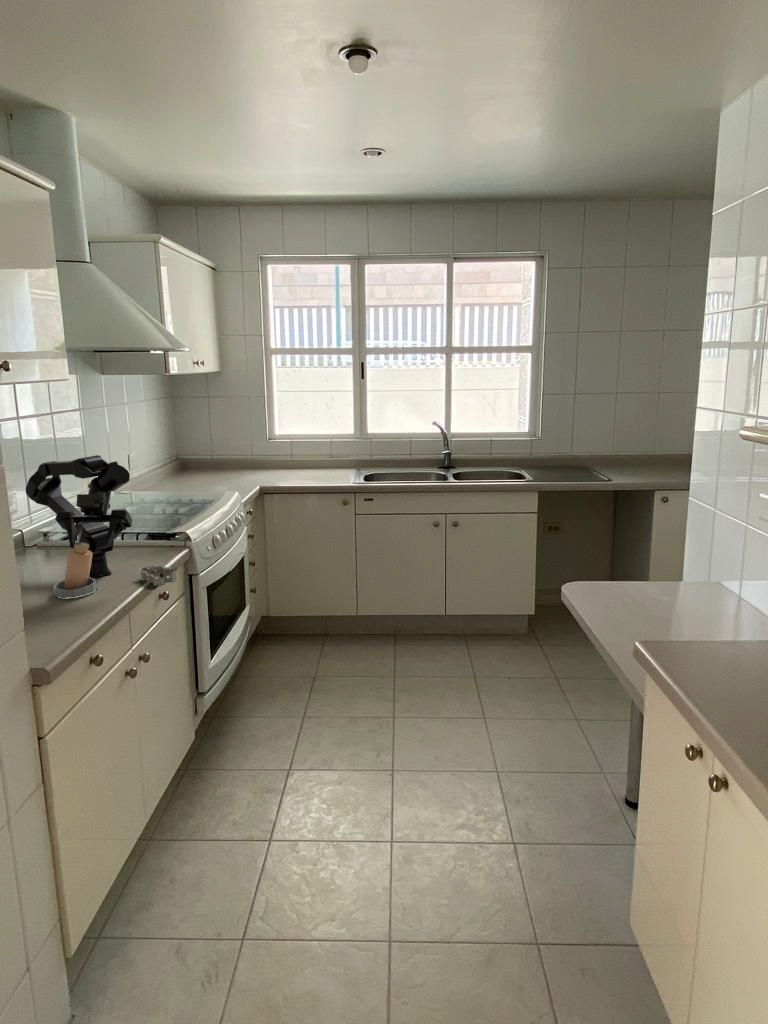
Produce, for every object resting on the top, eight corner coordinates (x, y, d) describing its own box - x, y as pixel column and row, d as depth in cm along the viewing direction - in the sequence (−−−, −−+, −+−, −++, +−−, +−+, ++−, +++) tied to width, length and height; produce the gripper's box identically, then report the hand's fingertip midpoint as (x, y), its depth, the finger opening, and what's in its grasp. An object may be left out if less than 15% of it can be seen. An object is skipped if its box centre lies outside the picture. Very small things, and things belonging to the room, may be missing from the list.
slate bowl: (52, 590, 185) (51, 582, 184) (92, 583, 190) (91, 574, 189) (57, 602, 176) (56, 593, 176) (100, 593, 182) (98, 585, 181)
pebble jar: (65, 581, 185) (71, 539, 182) (89, 584, 187) (95, 542, 184) (61, 589, 179) (67, 546, 176) (85, 592, 181) (92, 550, 178)
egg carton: (180, 581, 190) (178, 568, 189) (154, 588, 186) (153, 574, 184) (162, 572, 198) (161, 559, 197) (138, 579, 193) (136, 565, 192)
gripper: (53, 482, 180) (40, 533, 172) (123, 480, 181) (114, 530, 173) (69, 504, 189) (58, 553, 181) (136, 502, 190) (128, 550, 182)
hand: (89, 546), depth 179 cm, fingers open, 9 cm apart
